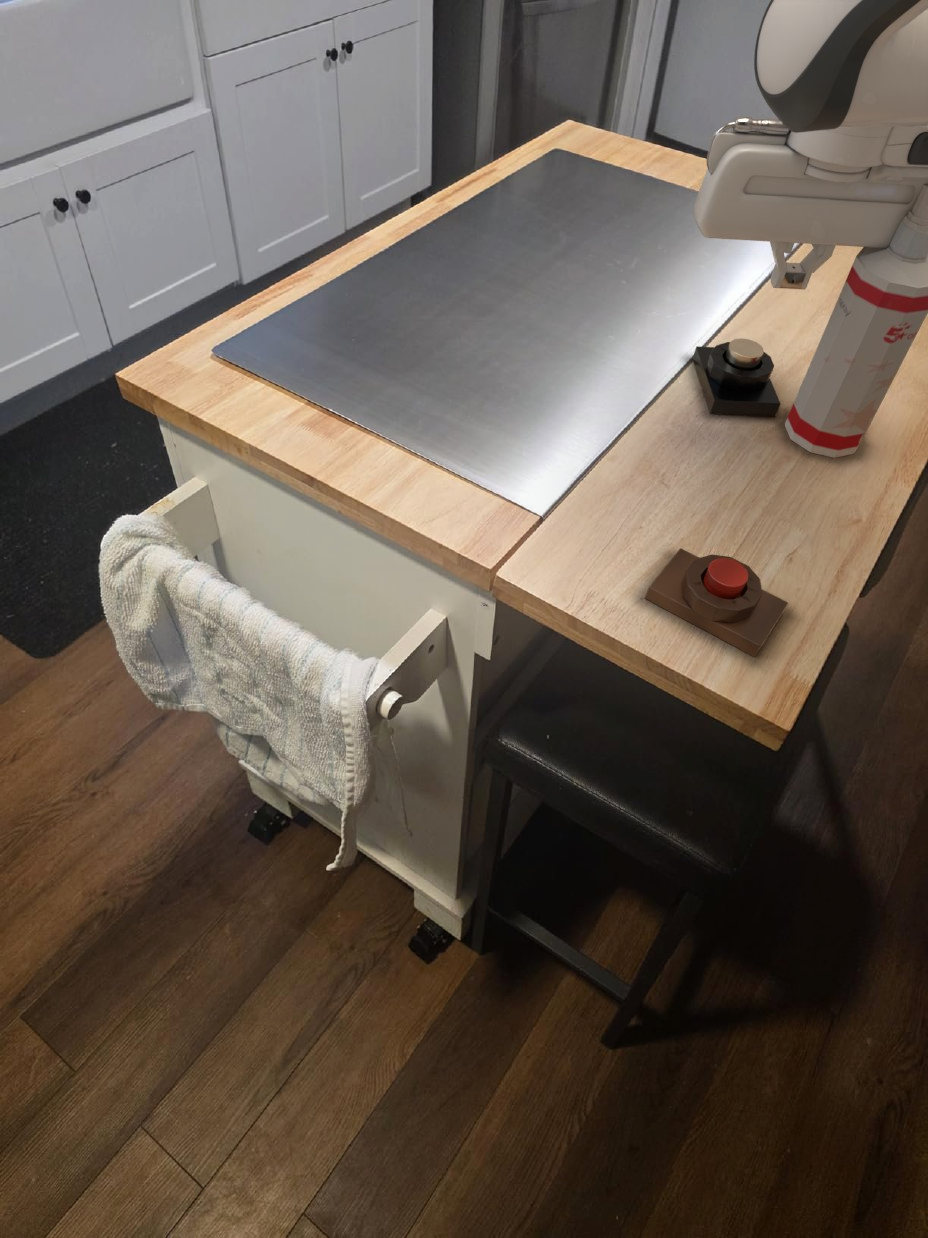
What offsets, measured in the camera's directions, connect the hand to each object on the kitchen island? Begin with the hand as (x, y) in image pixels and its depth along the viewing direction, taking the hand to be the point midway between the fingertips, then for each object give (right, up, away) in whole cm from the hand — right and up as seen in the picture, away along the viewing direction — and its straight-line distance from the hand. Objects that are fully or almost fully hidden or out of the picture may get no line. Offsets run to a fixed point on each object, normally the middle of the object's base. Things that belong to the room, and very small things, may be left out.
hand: (787, 285), depth 80 cm
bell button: (-9, -28, -9) cm, 31 cm away
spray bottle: (+7, -12, +10) cm, 17 cm away
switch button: (-1, -4, +12) cm, 12 cm away
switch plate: (-1, -6, +14) cm, 15 cm away
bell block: (-9, -30, -7) cm, 32 cm away
